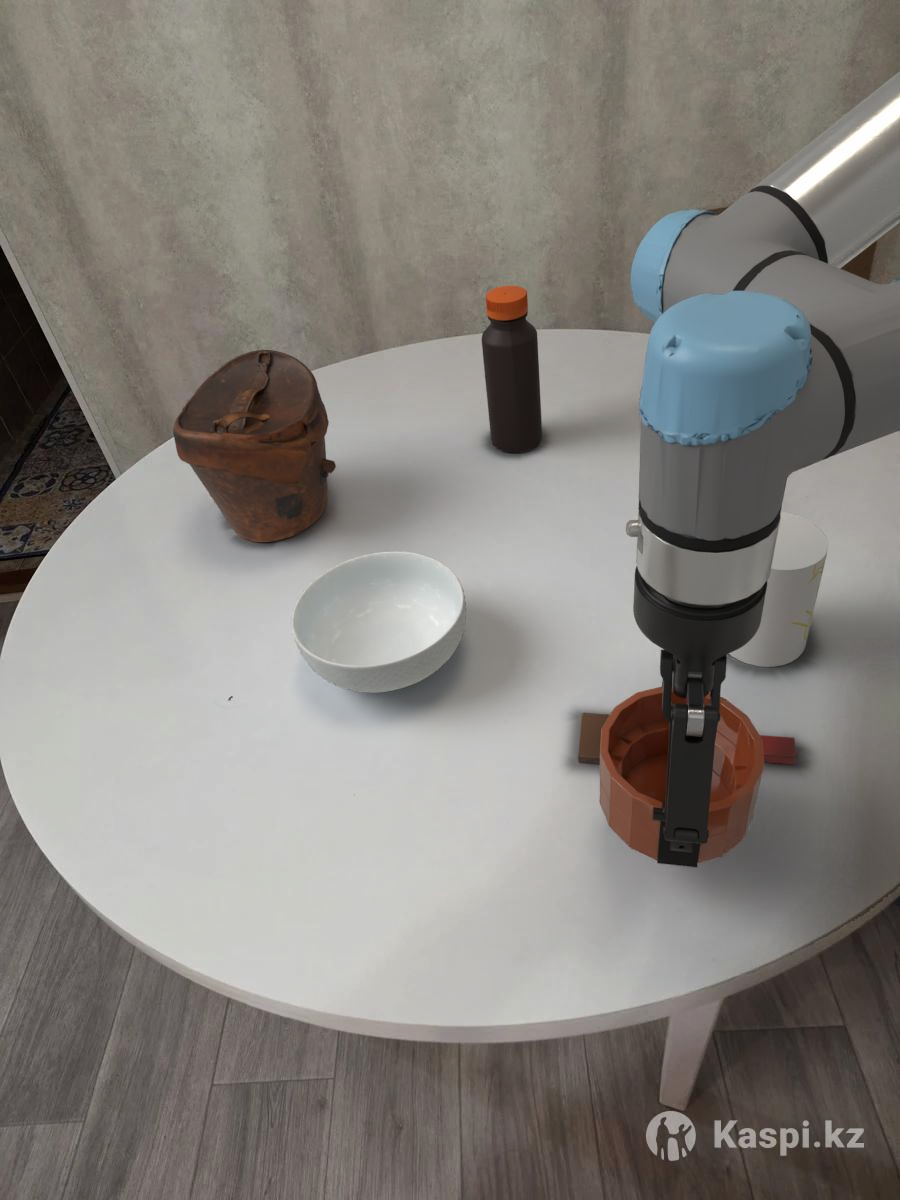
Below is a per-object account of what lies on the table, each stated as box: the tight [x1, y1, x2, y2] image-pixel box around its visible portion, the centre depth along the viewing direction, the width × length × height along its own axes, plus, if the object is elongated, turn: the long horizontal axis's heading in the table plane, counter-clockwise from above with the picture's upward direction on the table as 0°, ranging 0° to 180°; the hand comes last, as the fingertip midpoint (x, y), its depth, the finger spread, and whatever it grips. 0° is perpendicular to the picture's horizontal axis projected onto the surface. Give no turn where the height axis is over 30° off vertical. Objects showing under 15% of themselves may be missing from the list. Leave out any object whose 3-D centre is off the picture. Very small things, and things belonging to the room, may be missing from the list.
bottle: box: [481, 285, 543, 454], centre depth 108 cm, size 7×7×20 cm
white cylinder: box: [728, 511, 830, 668], centre depth 80 cm, size 8×8×12 cm
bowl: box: [599, 685, 766, 864], centre depth 64 cm, size 11×11×7 cm
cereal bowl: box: [291, 550, 467, 694], centre depth 86 cm, size 17×17×7 cm
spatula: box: [577, 712, 797, 765], centre depth 75 cm, size 18×5×1 cm, turn 79°
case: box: [172, 349, 337, 543], centre depth 103 cm, size 18×20×18 cm
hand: (676, 789), depth 65 cm, fingers closed on bowl, 11 cm apart
